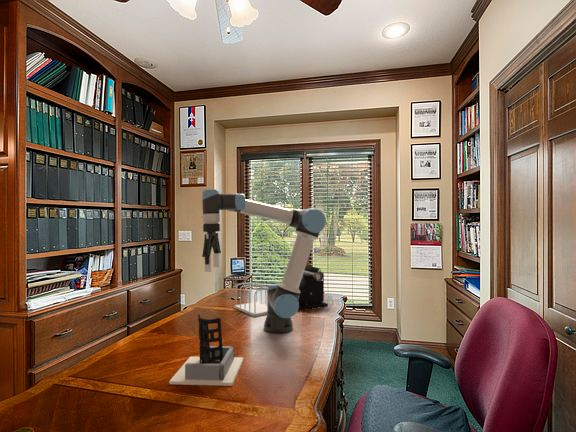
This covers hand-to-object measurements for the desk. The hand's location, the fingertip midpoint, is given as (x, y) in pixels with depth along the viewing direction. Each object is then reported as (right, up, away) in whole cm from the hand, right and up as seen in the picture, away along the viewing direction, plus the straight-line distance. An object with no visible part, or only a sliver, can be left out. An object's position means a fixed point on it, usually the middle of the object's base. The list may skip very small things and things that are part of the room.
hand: (212, 269), depth 145 cm
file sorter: (+14, -35, +55) cm, 67 cm away
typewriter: (+42, -36, +70) cm, 88 cm away
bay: (+5, -34, -26) cm, 43 cm away
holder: (+5, -33, -26) cm, 42 cm away
